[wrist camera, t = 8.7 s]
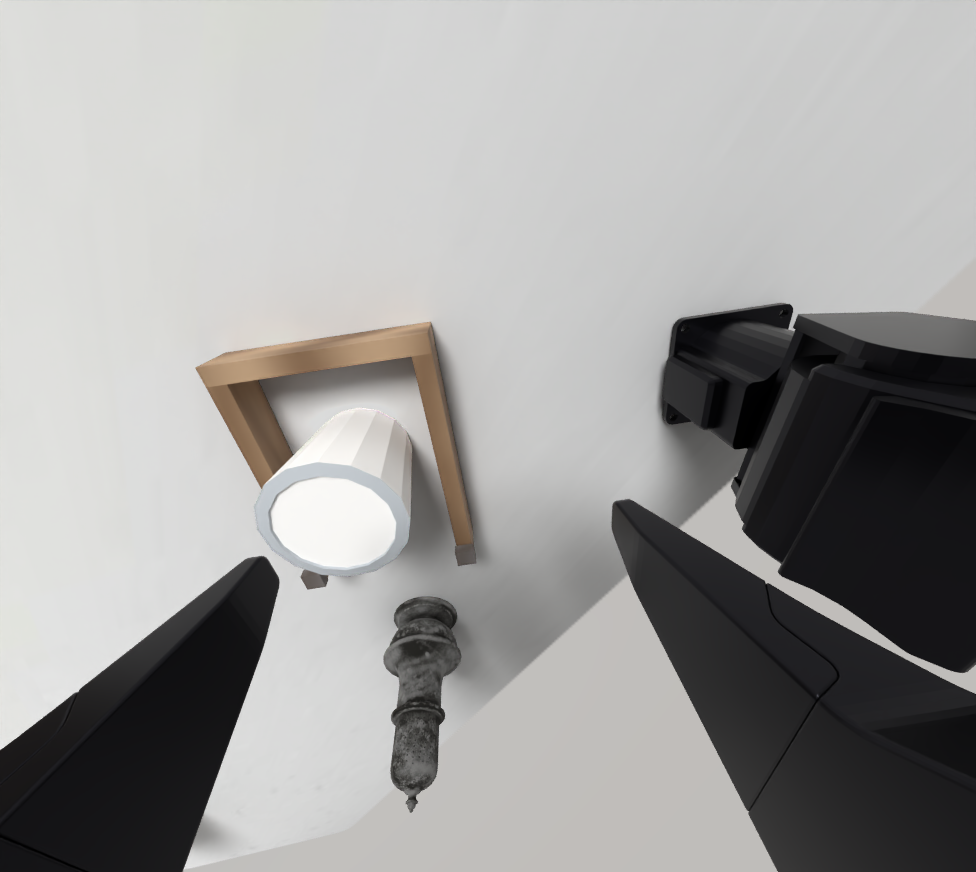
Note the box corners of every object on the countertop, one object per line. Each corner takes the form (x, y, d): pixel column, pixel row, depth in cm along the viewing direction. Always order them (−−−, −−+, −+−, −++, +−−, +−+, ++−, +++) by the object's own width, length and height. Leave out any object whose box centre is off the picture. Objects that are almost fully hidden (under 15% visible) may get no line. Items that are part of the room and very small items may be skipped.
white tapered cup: (416, 395, 21) (400, 459, 15) (427, 489, 25) (417, 573, 18) (295, 400, 21) (228, 468, 15) (323, 495, 24) (278, 583, 18)
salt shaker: (429, 646, 33) (418, 837, 22) (376, 621, 31) (335, 820, 20) (474, 613, 31) (484, 804, 21) (421, 584, 29) (402, 781, 18)
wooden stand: (432, 321, 19) (428, 335, 17) (474, 529, 27) (476, 563, 24) (223, 353, 19) (185, 372, 16) (322, 553, 26) (307, 589, 24)
